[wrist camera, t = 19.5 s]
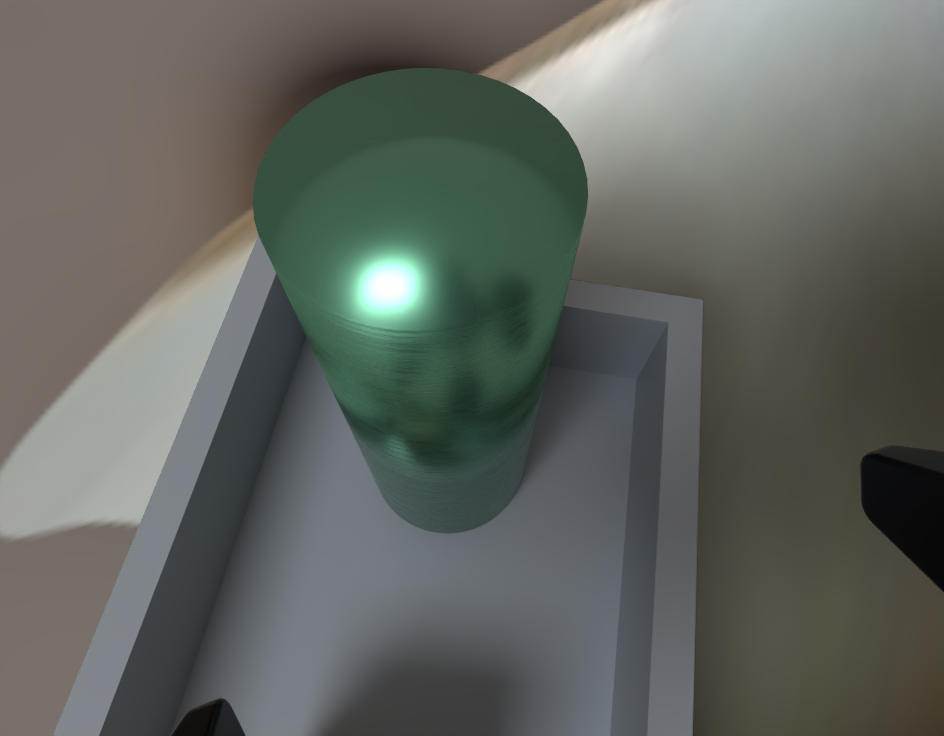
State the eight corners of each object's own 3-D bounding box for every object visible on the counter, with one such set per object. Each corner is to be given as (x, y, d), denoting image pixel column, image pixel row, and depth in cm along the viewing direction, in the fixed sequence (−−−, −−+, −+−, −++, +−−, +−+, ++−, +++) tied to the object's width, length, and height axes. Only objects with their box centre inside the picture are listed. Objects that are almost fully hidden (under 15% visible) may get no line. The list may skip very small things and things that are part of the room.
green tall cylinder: (544, 508, 20) (640, 276, 9) (392, 553, 20) (281, 367, 8) (498, 373, 23) (526, 44, 11) (359, 410, 22) (233, 102, 10)
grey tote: (608, 1243, 14) (674, 1500, 10) (22, 1089, 15) (-163, 1259, 11) (658, 371, 24) (702, 299, 19) (297, 312, 25) (260, 231, 20)
